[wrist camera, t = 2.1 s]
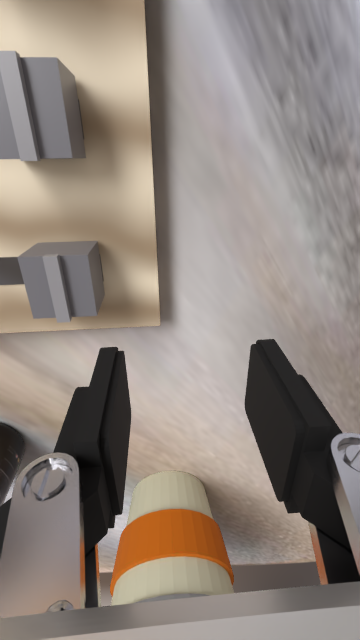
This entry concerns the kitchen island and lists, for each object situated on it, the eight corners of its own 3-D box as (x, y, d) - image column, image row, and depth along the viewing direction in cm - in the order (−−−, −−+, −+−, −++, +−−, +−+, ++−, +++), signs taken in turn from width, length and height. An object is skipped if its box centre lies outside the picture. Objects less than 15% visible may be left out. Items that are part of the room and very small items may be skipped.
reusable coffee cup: (123, 456, 34) (104, 642, 21) (230, 464, 36) (274, 639, 23) (112, 522, 40) (91, 702, 27) (205, 525, 42) (229, 695, 29)
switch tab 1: (86, 159, 19) (70, 160, 15) (19, 161, 19) (-13, 161, 15) (74, 73, 17) (53, 51, 13) (-1, 73, 17) (-44, 50, 13)
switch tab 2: (105, 296, 23) (96, 320, 19) (50, 298, 23) (31, 323, 19) (97, 239, 21) (85, 255, 17) (37, 241, 21) (13, 257, 17)
